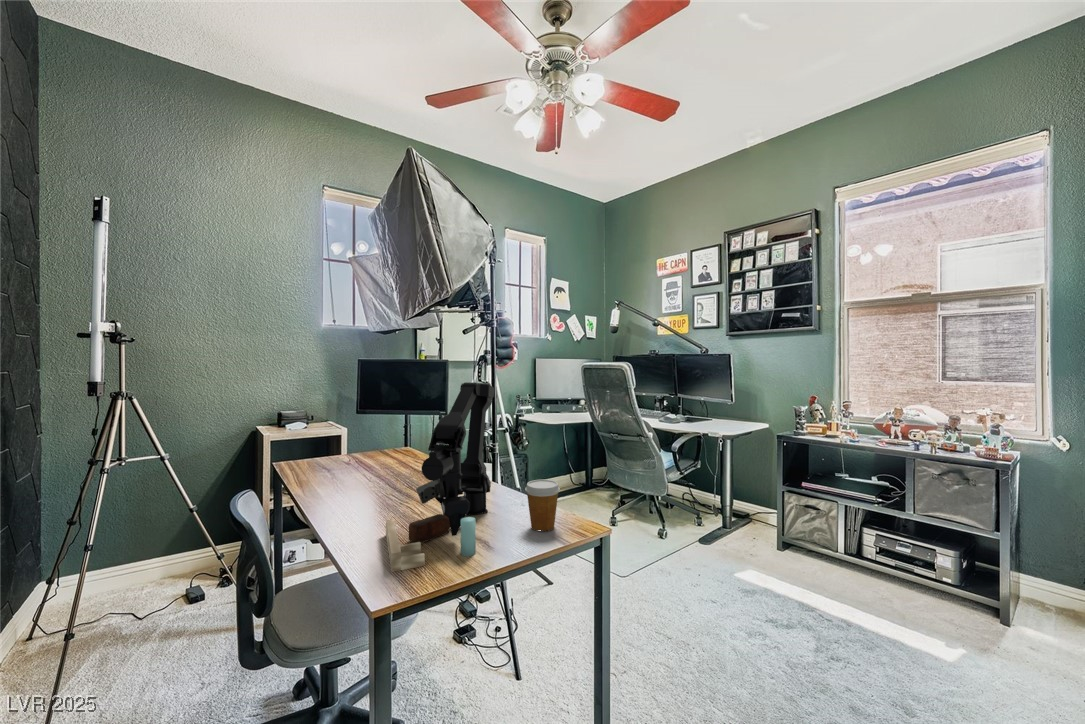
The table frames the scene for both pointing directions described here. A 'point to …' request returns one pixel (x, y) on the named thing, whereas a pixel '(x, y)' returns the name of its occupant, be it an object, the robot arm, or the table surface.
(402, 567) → the backstop fence
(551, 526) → the disposable coffee cup
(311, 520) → the table surface
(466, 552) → the dowel
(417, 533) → the brick
